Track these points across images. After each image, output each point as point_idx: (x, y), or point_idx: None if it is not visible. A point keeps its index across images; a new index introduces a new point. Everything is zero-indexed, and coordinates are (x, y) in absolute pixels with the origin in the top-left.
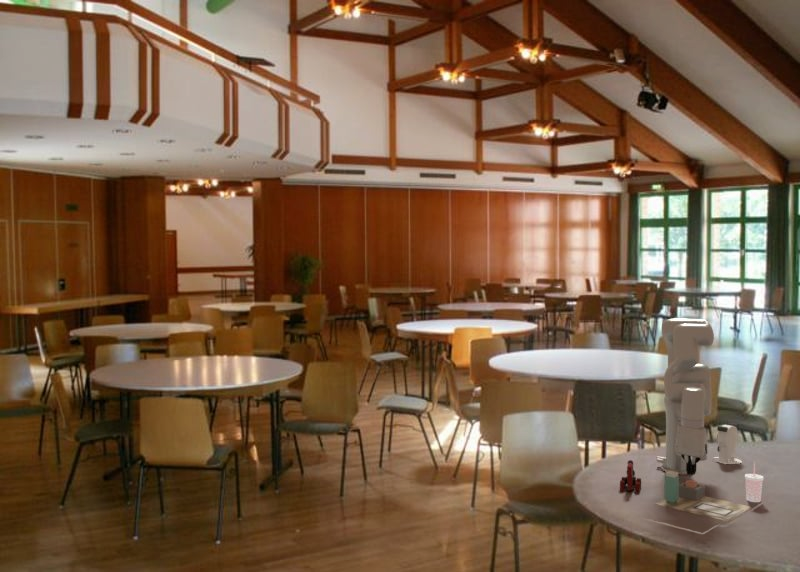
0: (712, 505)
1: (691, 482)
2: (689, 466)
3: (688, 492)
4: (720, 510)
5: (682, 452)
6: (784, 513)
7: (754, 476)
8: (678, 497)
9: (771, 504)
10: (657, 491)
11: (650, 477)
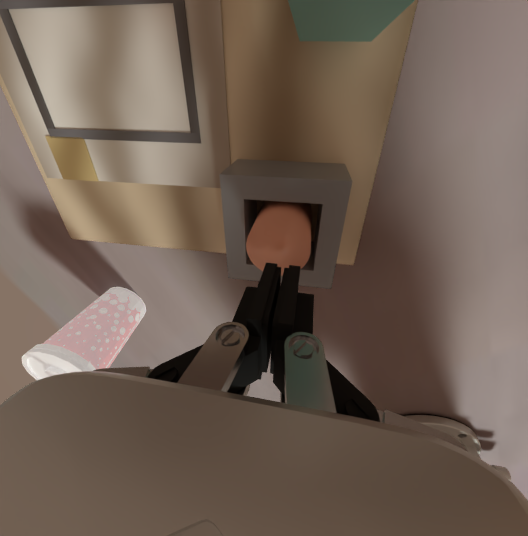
0: (147, 139)
1: (268, 230)
2: (276, 309)
3: (275, 170)
4: (79, 86)
5: (353, 450)
6: (4, 251)
7: (46, 370)
8: (299, 36)
9: (84, 305)
10: (469, 213)
11: (517, 367)
